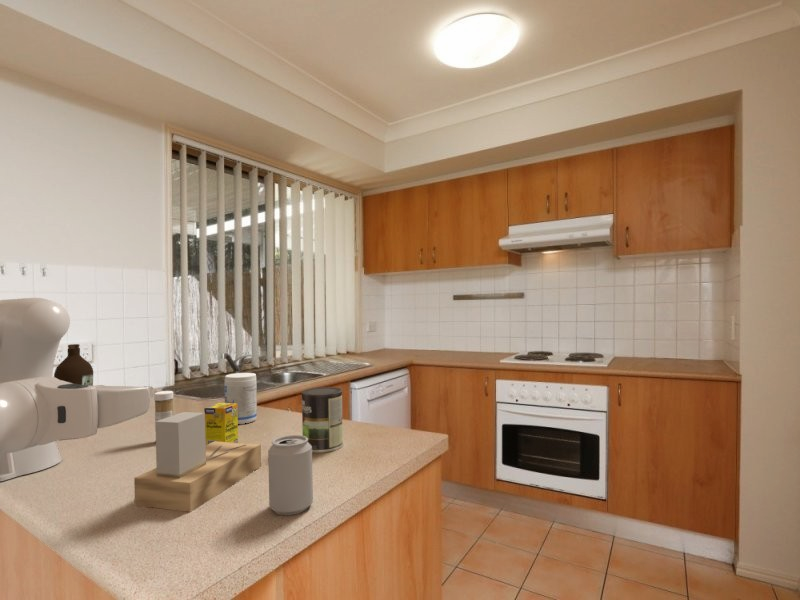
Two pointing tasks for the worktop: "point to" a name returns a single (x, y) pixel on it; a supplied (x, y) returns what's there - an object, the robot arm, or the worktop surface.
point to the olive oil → (75, 368)
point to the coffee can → (322, 418)
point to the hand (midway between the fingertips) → (126, 390)
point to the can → (290, 474)
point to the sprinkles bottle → (163, 405)
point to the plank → (199, 478)
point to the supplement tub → (242, 395)
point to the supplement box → (221, 423)
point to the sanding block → (180, 444)
